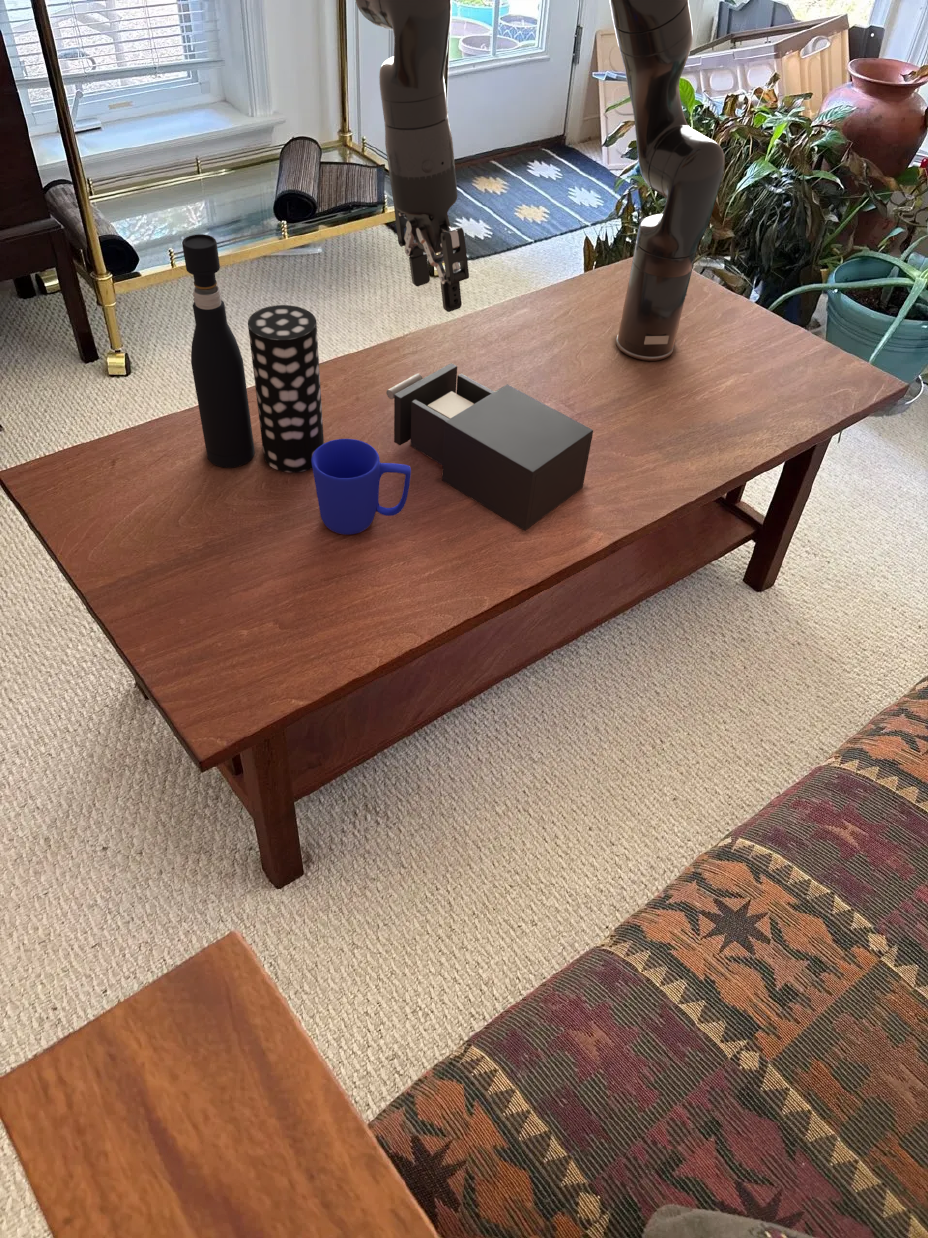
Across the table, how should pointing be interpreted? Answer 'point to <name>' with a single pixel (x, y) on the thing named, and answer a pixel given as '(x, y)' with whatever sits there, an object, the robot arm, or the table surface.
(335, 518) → the mug
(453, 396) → the block
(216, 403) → the black bottle
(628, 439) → the table surface
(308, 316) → the spotted tube
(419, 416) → the drawer
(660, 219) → the robot arm
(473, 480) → the cabinet
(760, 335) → the table surface
